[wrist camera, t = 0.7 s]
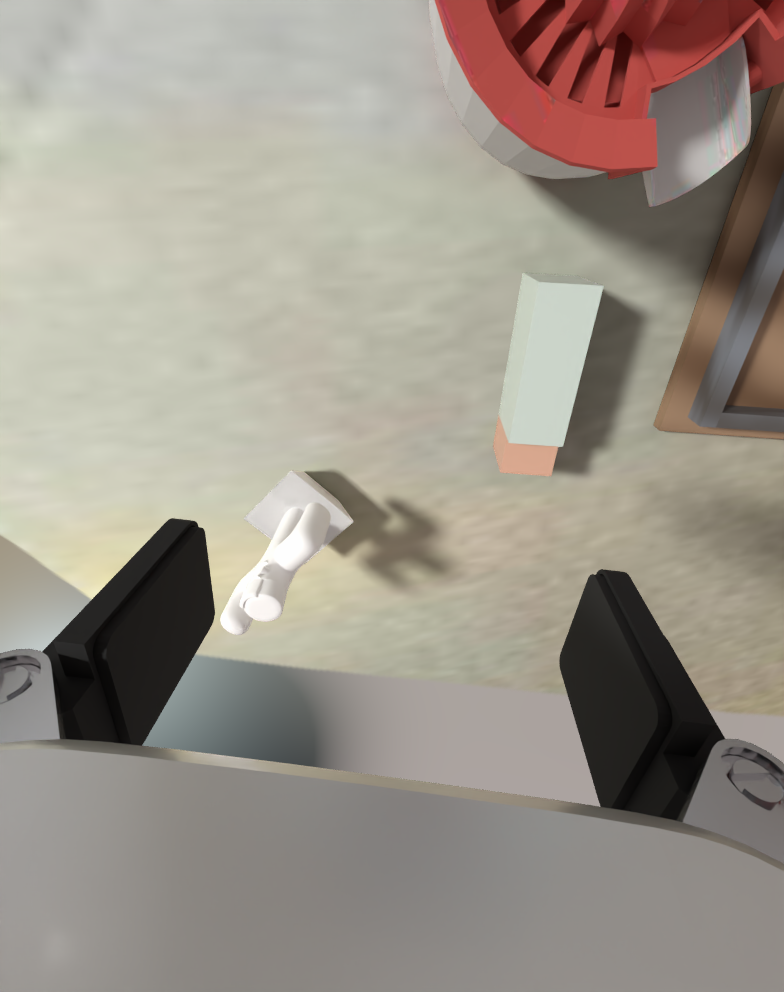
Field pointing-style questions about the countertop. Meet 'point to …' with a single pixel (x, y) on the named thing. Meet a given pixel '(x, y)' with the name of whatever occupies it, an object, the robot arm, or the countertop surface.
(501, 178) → the countertop surface
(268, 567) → the figurine
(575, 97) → the citrus juicer
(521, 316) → the white bar
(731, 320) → the jig
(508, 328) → the countertop surface
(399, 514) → the countertop surface
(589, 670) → the robot arm
